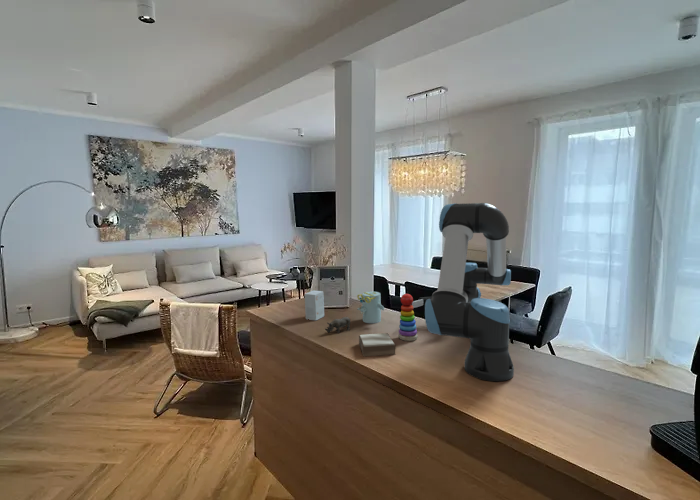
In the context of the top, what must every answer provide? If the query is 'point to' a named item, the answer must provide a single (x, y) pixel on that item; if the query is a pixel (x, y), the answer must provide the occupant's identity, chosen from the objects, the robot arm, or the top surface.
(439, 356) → the top surface
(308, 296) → the small box
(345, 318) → the rhino figurine
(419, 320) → the top surface
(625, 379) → the top surface
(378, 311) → the character sculpture
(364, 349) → the pedestal
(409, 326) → the stacking toy
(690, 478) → the top surface
